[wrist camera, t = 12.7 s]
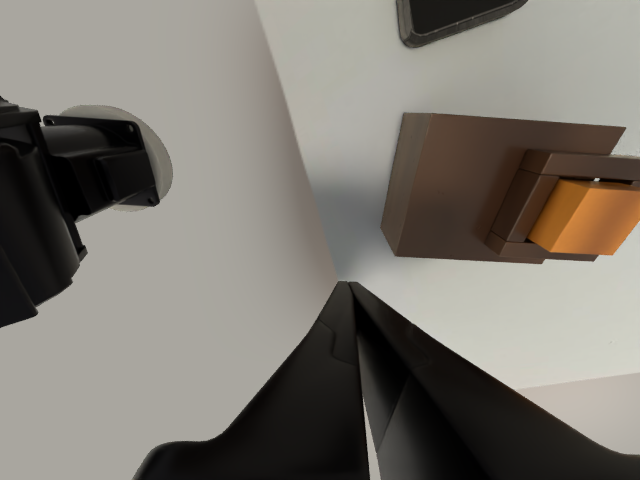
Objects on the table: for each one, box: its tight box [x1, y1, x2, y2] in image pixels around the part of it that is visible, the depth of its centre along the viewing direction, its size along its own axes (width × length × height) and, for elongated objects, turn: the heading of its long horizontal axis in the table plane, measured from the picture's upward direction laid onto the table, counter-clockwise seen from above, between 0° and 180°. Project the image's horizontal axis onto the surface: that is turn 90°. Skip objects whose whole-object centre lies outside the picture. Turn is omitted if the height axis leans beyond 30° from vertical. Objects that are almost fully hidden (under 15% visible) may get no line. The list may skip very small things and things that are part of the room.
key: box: [526, 179, 640, 255], centre depth 14 cm, size 4×4×2 cm
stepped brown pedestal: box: [380, 113, 640, 264], centre depth 18 cm, size 14×10×7 cm
